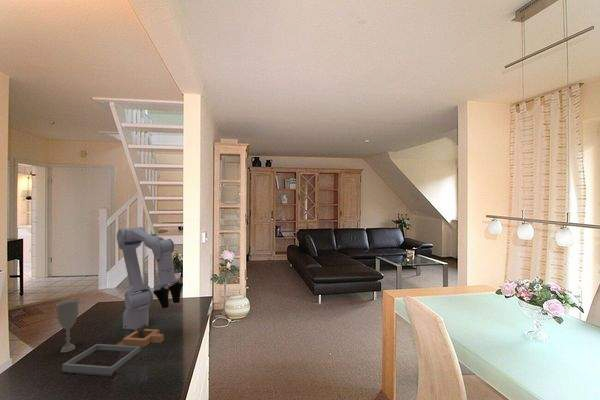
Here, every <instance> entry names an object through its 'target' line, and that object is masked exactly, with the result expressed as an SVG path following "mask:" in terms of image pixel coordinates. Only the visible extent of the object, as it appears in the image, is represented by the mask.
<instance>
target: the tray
mask: <svg viewBox="0 0 600 400" xmlns="http://www.w3.org/2000/svg"><path fill="white" fill-rule="evenodd" d="M98 350H99V351H114V352H129V353H128V354H126V355H125V356H124V357H123V358H121V359H119V360H118V361H117V362H116V363H114V364H112V366H106V365H92V364H81V363H80V364H77V363H78V362H79V361H81V360H82V359H84V358H86V357H88V356H89V355H91V354H93V353H94V352H96V351H98ZM141 350H142V348H141V347H140V346H124V345H116V344H108V343H106V344H105V343H104V344H103V343H96V344H94V345H93V346H91V347H89V348H87V349H85V351H82V352H81V353H80V354H77V355H75V356H74V357H72V358H70V359H69V360H68V361H65V362H64V363H62V364H61V373H62V372H67V373H66V374H72V373H76V374H75V375H85V376H97V377H110V378H111V377H113V376H114V375H116V373H117V372H116V371H117V370H118V369H119V368H121V367H122V366H123V365H125V364H126V363H127V362H129V361H130V360H131V359H133V358H134V357H135V356H137V355H138V354H139V353H140V352H142V351H141Z"/></svg>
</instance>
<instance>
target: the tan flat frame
mask: <svg viewBox="0 0 600 400" xmlns="http://www.w3.org/2000/svg"><path fill="white" fill-rule="evenodd" d="M160 332H161V330H160V329H157V328H155V329H153V328H145V338H139V331H137V330H134V331H133V332H131V333H130V334H128V335H127V336H125V337H124V338H122V340H123V345H124V346H140V347H143V348H146V347H147V346H148V345H150V344H151V343H153V344H155V343H157V344H162V342H164V341H165V336H164V335H165V334H164V333H160Z"/></svg>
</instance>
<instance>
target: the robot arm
mask: <svg viewBox="0 0 600 400" xmlns="http://www.w3.org/2000/svg"><path fill="white" fill-rule="evenodd" d="M116 240H117V241H116V242H117V245H118V249H119V250H121V251H122V253H123V258H124V264H125V269H126V274H127V278H128V282H129V283H128V284H129V288H128V289H127V290H126V291H125V292H124V307H125V309H124V312H123V313H122V328H123V330H132V331H133V330H134V331H136V330H137V328H139V327H140V326H142V325H143V324H147V327H149V324H150V319H149V318H150V316H149V315H150V312H149V310H150V309H149V308H150V306H151V304H152V303H153V301H154V295H155V297H156V298H157V299H158V301H159V304H160V305H161V309H167V308H169V304H170V303H169V293H170V294H171V298H172V301H173V304H179V303H180V301H181V293H182V288H183V287H184V283H183V282H182V281H181V277H180V278H179V277H178V278H177V277H176V273H175V266H174V265H175V264H174V258H173V253H174V250H175V244H174V241H173V240H172V239H171V238H166V239H164V238H163V237H162V236H159V235H157V233H155V232H153V233H148V232H146V229H145V228H144V227H143V226H139V227H128V228H123V227H122V228H119V229H118V230H117V233H116ZM142 243H143V244H144V246H145V247H147V248H148V249H150V250H151V252H152V253H153V256H154V259H155V261H156V263H157V273H158V278H159V283H156V284H154V285H153V288H154V290H153V291H152V290H151V286H149V285H148V284H145V283H144V281H143V277H142V272H141V267H140V264H139V263H140V262H139V260H138V259H139V258H138V254H137V248H139V247H140V246H141V245H142ZM153 294H154V295H153Z"/></svg>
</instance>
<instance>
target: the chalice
mask: <svg viewBox="0 0 600 400" xmlns="http://www.w3.org/2000/svg"><path fill="white" fill-rule="evenodd" d="M79 303H80V299H67V300H63V301H60V302H57V303H56V304H55V307H56V313H57V314H56V315H57V321H58V323H59V324H60V326H61V327H62V328H63V329H65V330H66V332H65V333H64V334H65V335H66V337H65V338H64V340H65V341H66V343H65V344H64V345H63V346H62V348H61V350H60V352H59V353H68V352H71V351H73V350H75V349H76V346H75V344H74V343H71V342H70V341H71V339H72V337H71V336H70V335H71V331H70V329H71V328H73V327H74V324H75V322H76V321H77V318H78V317H79V316H78V315H79Z"/></svg>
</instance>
